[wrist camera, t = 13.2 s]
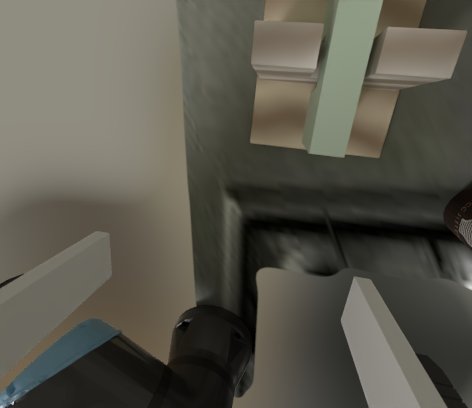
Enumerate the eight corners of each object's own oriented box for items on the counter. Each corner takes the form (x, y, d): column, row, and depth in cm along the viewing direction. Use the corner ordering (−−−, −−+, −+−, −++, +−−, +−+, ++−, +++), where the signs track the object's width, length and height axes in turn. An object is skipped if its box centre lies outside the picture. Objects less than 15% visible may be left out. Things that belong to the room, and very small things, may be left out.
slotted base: (374, 156, 31) (421, 177, 21) (251, 141, 34) (236, 154, 23) (426, -21, 25) (532, -120, 14) (270, -25, 27) (261, -113, 17)
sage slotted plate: (330, -17, 25) (356, -92, 16) (360, -16, 25) (406, -92, 16) (301, 142, 31) (309, 153, 22) (326, 144, 31) (344, 157, 21)
